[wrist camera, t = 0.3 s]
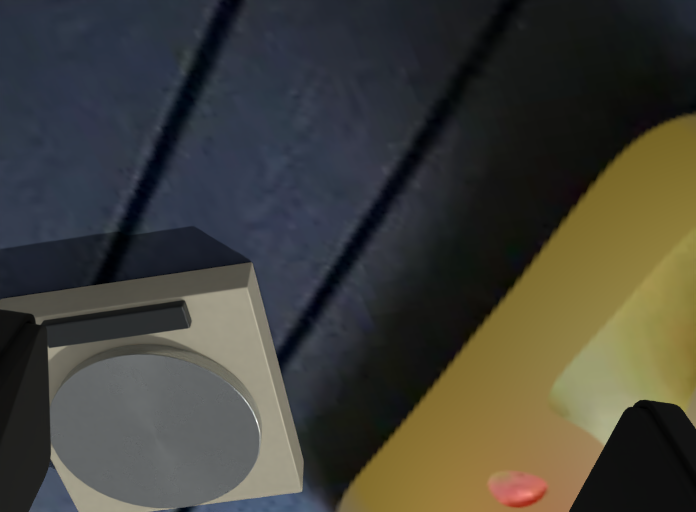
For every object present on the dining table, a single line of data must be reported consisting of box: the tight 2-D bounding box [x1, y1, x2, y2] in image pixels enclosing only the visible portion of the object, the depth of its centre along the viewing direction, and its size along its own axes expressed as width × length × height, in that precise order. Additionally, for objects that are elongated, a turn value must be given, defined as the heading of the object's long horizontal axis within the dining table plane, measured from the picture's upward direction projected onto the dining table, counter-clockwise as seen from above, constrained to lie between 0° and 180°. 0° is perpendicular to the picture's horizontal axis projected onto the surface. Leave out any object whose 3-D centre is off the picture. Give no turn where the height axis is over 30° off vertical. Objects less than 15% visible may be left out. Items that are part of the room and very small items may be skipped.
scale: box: [0, 262, 303, 512], centre depth 32 cm, size 13×12×3 cm
